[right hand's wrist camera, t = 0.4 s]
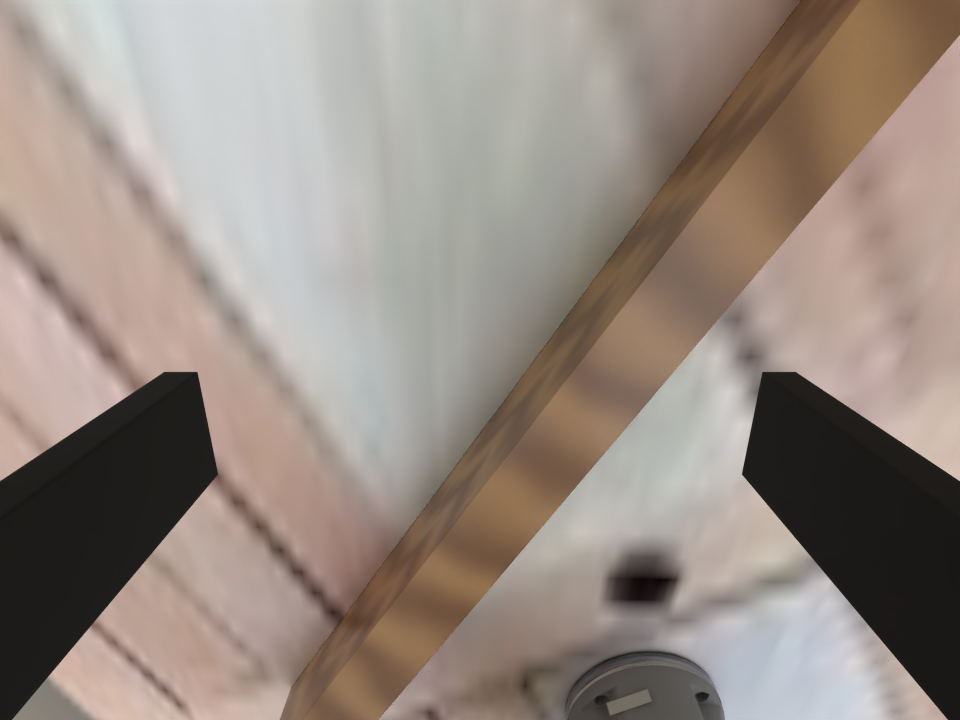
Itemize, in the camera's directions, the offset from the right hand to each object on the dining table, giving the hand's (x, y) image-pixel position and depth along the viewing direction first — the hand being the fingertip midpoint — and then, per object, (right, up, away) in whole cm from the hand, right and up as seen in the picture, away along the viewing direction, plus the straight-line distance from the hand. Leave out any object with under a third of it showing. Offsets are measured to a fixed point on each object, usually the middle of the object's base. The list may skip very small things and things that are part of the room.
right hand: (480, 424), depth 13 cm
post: (+4, -3, +30) cm, 30 cm away
